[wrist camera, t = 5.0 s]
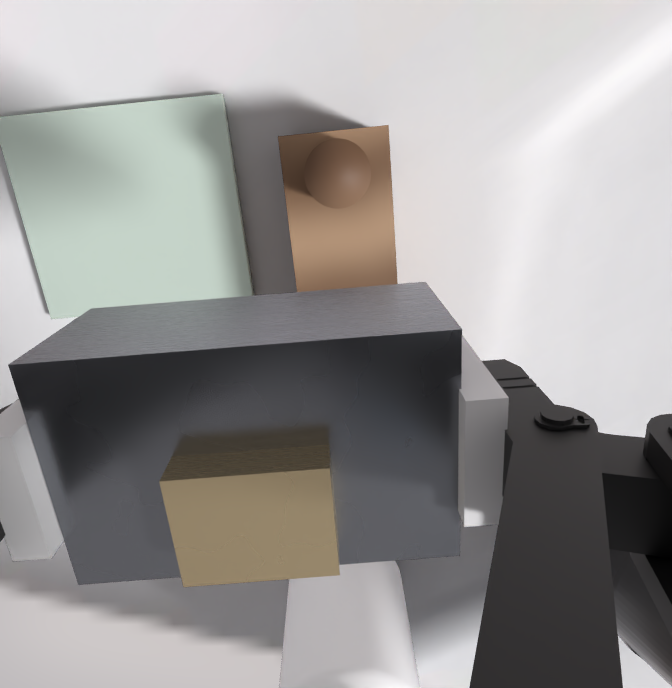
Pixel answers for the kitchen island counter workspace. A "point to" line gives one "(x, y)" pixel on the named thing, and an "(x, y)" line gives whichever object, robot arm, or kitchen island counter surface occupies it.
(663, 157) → the kitchen island counter surface
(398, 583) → the beverage can
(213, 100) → the mat
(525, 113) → the kitchen island counter surface
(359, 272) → the hand plane
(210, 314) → the dark grey rectangular block
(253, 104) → the kitchen island counter surface
